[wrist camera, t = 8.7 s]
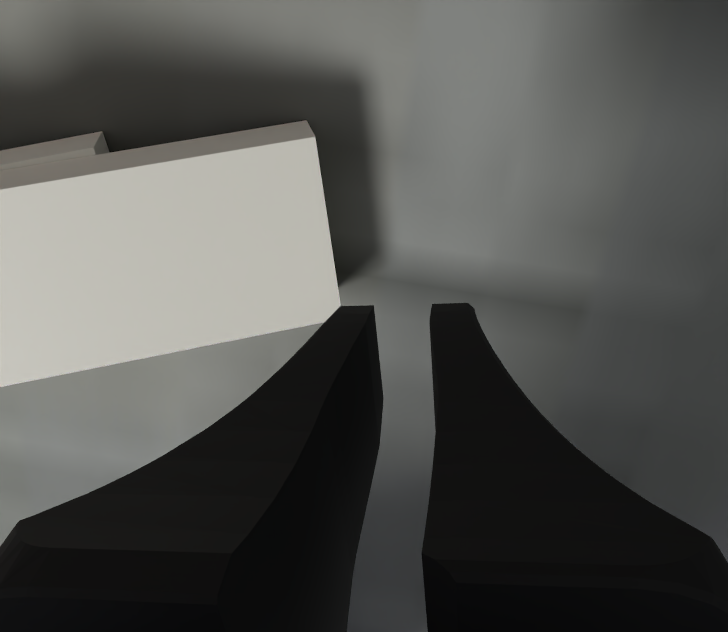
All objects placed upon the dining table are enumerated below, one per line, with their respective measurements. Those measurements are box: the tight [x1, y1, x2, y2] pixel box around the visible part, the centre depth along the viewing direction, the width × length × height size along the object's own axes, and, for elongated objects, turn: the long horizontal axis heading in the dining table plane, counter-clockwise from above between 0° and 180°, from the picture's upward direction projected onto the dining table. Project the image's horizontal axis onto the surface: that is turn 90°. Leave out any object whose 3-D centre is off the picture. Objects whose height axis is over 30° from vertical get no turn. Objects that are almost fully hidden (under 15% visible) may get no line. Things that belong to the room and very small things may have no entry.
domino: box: [0, 120, 341, 387], centre depth 17 cm, size 2×5×9 cm
